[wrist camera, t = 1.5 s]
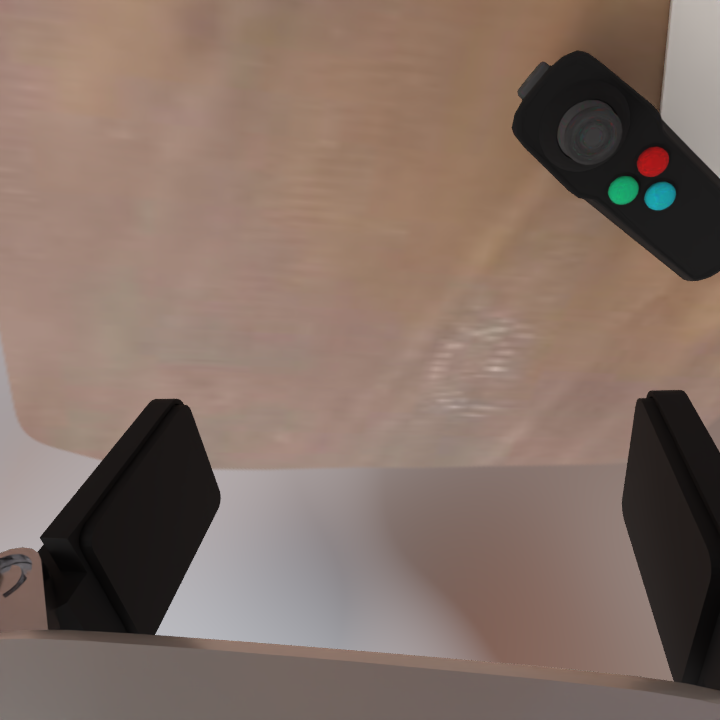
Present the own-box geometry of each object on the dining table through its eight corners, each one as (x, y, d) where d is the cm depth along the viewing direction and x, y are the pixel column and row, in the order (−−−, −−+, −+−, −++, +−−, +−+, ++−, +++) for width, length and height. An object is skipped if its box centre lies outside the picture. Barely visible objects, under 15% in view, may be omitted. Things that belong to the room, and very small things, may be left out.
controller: (551, 28, 28) (585, 33, 19) (719, 186, 30) (815, 250, 22) (491, 104, 30) (497, 137, 22) (652, 245, 32) (714, 325, 24)
